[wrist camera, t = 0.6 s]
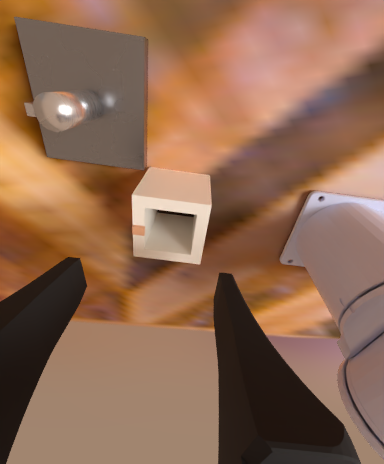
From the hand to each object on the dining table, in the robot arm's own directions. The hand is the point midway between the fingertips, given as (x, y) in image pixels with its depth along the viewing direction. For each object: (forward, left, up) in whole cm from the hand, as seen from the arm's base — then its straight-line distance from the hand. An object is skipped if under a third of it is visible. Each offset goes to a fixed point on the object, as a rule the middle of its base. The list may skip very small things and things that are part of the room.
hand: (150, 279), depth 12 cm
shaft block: (+6, -7, -10) cm, 13 cm away
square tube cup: (0, 0, -10) cm, 10 cm away
